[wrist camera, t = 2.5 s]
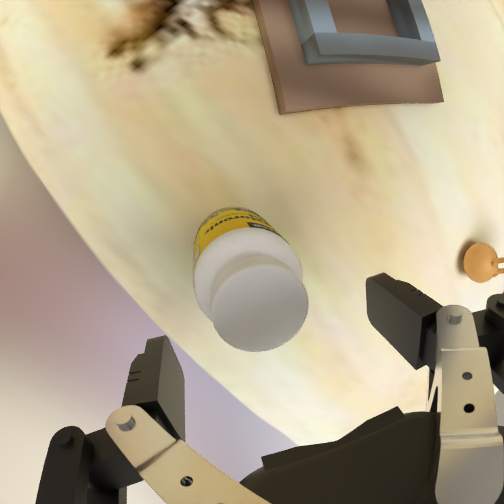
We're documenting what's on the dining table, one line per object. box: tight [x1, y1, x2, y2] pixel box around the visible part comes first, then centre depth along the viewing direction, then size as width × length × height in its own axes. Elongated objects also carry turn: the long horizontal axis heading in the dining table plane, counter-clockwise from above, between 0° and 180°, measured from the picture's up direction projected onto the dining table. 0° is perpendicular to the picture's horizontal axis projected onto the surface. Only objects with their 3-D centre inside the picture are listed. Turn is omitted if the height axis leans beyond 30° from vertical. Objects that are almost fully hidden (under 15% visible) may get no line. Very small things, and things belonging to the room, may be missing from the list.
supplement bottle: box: [193, 207, 308, 352], centre depth 17 cm, size 5×5×10 cm
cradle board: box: [252, 0, 444, 115], centre depth 15 cm, size 16×14×4 cm
